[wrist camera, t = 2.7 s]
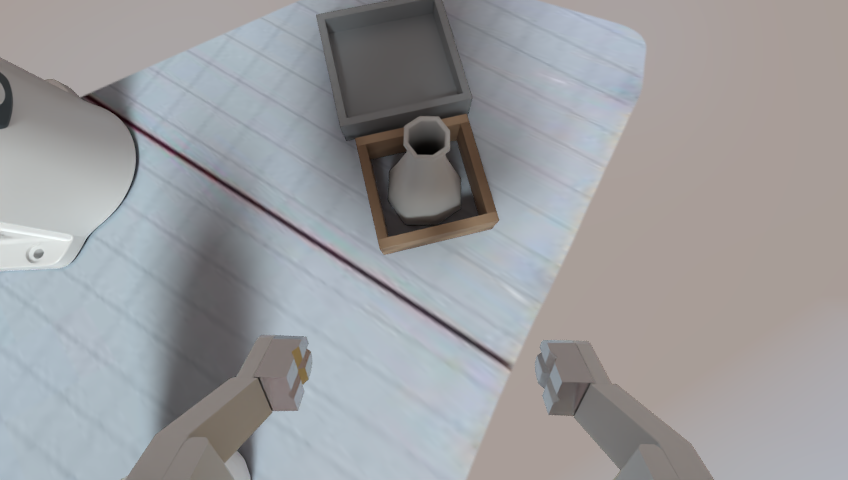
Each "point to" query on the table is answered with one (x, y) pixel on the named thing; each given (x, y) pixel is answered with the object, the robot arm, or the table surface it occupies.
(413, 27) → the tray
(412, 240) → the shaker holder
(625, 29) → the table surface
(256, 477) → the table surface
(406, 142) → the flask
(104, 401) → the table surface
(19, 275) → the table surface
